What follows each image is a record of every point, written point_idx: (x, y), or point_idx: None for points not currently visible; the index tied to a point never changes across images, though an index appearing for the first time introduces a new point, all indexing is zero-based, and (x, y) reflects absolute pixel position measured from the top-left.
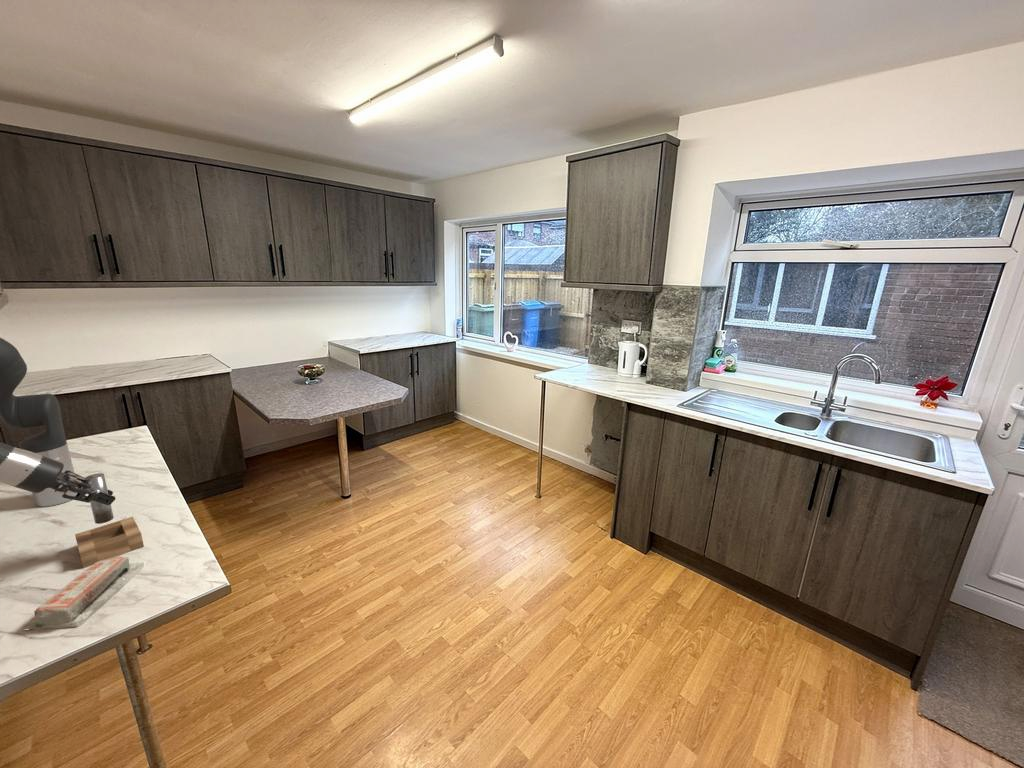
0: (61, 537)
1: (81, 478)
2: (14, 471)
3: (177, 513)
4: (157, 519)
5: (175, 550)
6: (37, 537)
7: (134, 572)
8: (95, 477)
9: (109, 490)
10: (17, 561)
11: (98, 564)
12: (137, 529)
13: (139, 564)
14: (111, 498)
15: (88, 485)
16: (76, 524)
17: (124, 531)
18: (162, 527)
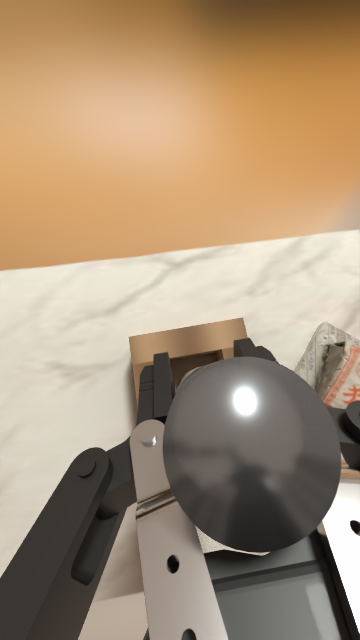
0: None
1: (189, 582)
2: None
3: (115, 267)
4: (117, 302)
5: (286, 275)
6: (16, 551)
7: (350, 337)
8: (293, 431)
9: (163, 362)
10: (128, 575)
11: (352, 396)
12: (216, 325)
13: (329, 328)
14: (262, 350)
15: (348, 478)
16: (7, 467)
17: (201, 352)
18: (165, 294)
